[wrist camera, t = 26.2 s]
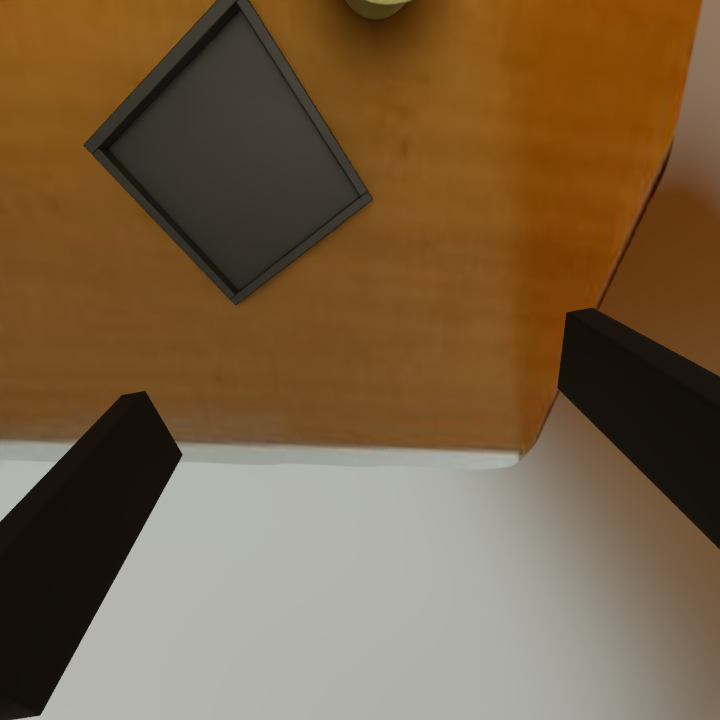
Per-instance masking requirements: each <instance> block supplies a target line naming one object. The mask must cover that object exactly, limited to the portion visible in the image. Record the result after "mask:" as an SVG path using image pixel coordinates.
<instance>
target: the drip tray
mask: <svg viewBox="0 0 720 720" xmlns="http://www.w3.org/2000/svg"><path fill="white" fill-rule="evenodd" d="M84 147H85V148H86V149H87V150H88V151H89V152H90V153H91V154H93V156H94V157H95V158H96V159H97V160H98V161H99V162H100V163H101V164H102V166H103V167H104V168H105V169H106V170H107V171H108V172H109V173H110V174H111V175H112V176H113V177H114V178H115V179H116V180H117V181H118V182H119V183H120V184H121V186H122V187H123V188H124V189H125V190H126V191H127V192H128V193H129V194H130V195H131V196H132V197H133V198H134V199H135V200H136V201H137V202H138V203H139V204H140V206H141V207H142V208H143V209H144V210H145V211H146V212H147V213H148V214H149V215H150V216H151V217H152V218H153V219H154V220H155V221H156V222H157V223H158V224H159V226H160V227H161V228H162V229H163V230H164V231H165V232H166V233H167V234H168V235H169V236H170V237H171V238H172V239H173V240H174V241H175V242H176V243H177V244H178V246H179V247H180V248H181V249H182V250H183V251H184V252H185V253H186V254H187V255H188V256H189V257H190V258H191V259H192V260H193V261H194V262H195V263H196V264H197V266H198V267H199V268H200V269H201V270H202V271H203V272H204V273H205V274H206V275H207V276H208V277H209V278H210V279H211V280H212V281H213V282H214V283H215V285H216V286H217V287H218V288H219V289H220V290H221V291H222V292H223V293H224V294H225V295H226V296H227V297H228V298H229V299H230V300H231V301H232V302H233V303H234V304H235V305H237V304H238V303H240V302H241V301H242V300H244V299H245V298H246V297H247V296H249V295H250V294H251V293H253V292H254V291H255V290H256V289H258V288H259V287H260V286H262V285H263V284H264V283H265V282H267V281H268V280H269V279H271V278H272V277H273V276H275V275H276V274H277V273H278V272H280V271H281V270H282V269H284V268H285V267H286V266H287V265H289V264H290V263H291V262H293V261H294V260H295V259H296V258H298V257H299V256H300V255H302V254H303V253H304V252H306V251H307V250H308V249H309V248H311V247H312V246H313V245H315V244H316V243H317V242H318V241H320V240H321V239H322V238H324V237H325V236H326V235H327V234H329V233H330V232H331V231H333V230H334V229H335V228H337V227H338V226H339V225H340V224H342V223H343V222H344V221H346V220H347V219H348V218H349V217H351V216H352V215H353V214H355V213H356V212H357V211H358V210H360V209H361V208H362V207H364V206H365V205H366V204H368V203H369V202H370V201H371V200H372V199H373V198H372V197H371V195H370V193H369V192H368V190H367V189H366V187H365V185H364V184H363V182H362V181H361V179H360V177H359V176H358V174H357V173H356V171H355V169H354V168H353V166H352V164H351V163H350V161H349V160H348V158H347V156H346V155H345V153H344V152H343V150H342V148H341V147H340V145H339V144H338V142H337V140H336V139H335V137H334V136H333V134H332V132H331V131H330V129H329V128H328V126H327V124H326V123H325V121H324V120H323V118H322V116H321V115H320V113H319V112H318V110H317V108H316V107H315V105H314V104H313V102H312V100H311V99H310V97H309V96H308V94H307V92H306V91H305V89H304V88H303V86H302V84H301V83H300V81H299V80H298V78H297V76H296V75H295V73H294V72H293V70H292V68H291V67H290V65H289V64H288V62H287V60H286V59H285V57H284V56H283V54H282V52H281V51H280V49H279V48H278V46H277V44H276V43H275V41H274V40H273V38H272V36H271V35H270V33H269V32H268V30H267V28H266V27H265V25H264V24H263V22H262V20H261V19H260V17H259V16H258V14H257V12H256V11H255V9H254V8H253V6H252V4H251V3H250V1H249V0H217V1H216V2H215V3H214V4H213V5H212V6H211V7H210V8H209V10H208V11H207V12H206V13H205V14H204V15H203V16H202V17H201V18H200V19H199V20H198V21H197V22H196V24H195V25H194V26H193V27H192V28H191V29H190V30H189V31H188V32H187V33H186V34H185V35H184V37H183V38H182V39H181V40H180V41H179V42H178V43H177V44H176V45H175V46H174V47H173V48H172V50H171V51H170V52H169V53H168V54H167V55H166V56H165V57H164V58H163V59H162V60H161V61H160V63H159V64H158V65H157V66H156V67H155V68H154V69H153V70H152V71H151V72H150V73H149V74H148V76H147V77H146V78H145V79H144V80H143V81H142V82H141V83H140V84H139V85H138V86H137V87H136V88H135V90H134V91H133V92H132V93H131V94H130V95H129V96H128V97H127V98H126V99H125V100H124V101H123V103H122V104H121V105H120V106H119V107H118V108H117V109H116V110H115V111H114V112H113V113H112V114H111V116H110V117H109V118H108V119H107V120H106V121H105V122H104V123H103V124H102V125H101V126H100V127H99V129H98V130H97V131H96V132H95V133H94V134H93V135H92V136H91V137H90V138H89V139H88V140H87V142H86V143H85V144H84Z"/></svg>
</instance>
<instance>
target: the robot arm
mask: <svg viewBox="0 0 720 720" xmlns="http://www.w3.org/2000/svg"><path fill="white" fill-rule="evenodd" d="M557 388H558V389H559V390H560V391H561V392H562V393H563V394H564V395H565V396H566V397H567V398H568V399H569V400H570V401H571V402H572V403H573V404H574V405H575V406H576V407H577V408H578V409H579V410H580V411H581V412H582V413H583V414H584V415H585V416H586V417H587V418H588V419H589V420H590V421H591V422H592V423H593V424H594V425H595V426H596V427H597V428H598V429H599V430H600V431H601V432H602V433H603V434H604V435H605V436H606V437H607V438H608V439H610V441H611V442H612V443H613V444H614V445H615V446H616V447H617V448H618V449H619V450H620V451H621V452H622V453H623V454H624V455H625V456H626V457H627V458H628V459H629V460H630V461H631V462H632V463H633V464H634V465H636V466H637V468H638V469H639V470H640V471H641V472H643V474H644V475H645V476H646V477H647V478H649V479H650V481H651V482H652V483H653V484H655V486H656V487H658V488H659V489H660V490H661V491H662V492H663V493H664V494H665V495H666V496H667V497H668V498H669V499H670V500H671V501H672V502H673V503H674V504H675V505H676V506H677V507H678V508H679V509H680V510H681V511H682V512H683V513H684V514H685V515H686V516H687V517H688V518H689V519H690V520H691V521H692V522H693V523H694V524H695V525H696V526H697V527H698V528H699V529H700V530H701V531H702V532H703V533H704V534H705V535H706V536H707V537H708V538H709V539H710V540H711V541H712V542H713V543H714V544H715V545H716V546H717V547H718V548H719V549H720V377H719V376H718V375H716V374H714V373H712V372H710V371H708V370H707V369H705V368H703V367H701V366H699V365H697V364H695V363H694V362H692V361H690V360H688V359H686V358H684V357H683V356H681V355H678V354H677V353H675V352H673V351H671V350H670V349H668V348H666V347H664V346H662V345H660V344H658V343H657V342H655V341H653V340H651V339H649V338H647V337H646V336H644V335H642V334H640V333H638V332H636V331H635V330H633V329H631V328H629V327H627V326H625V325H623V324H621V323H620V322H618V321H616V320H614V319H612V318H611V317H608V316H606V315H605V314H603V313H601V312H599V311H598V310H596V309H594V308H588V309H583V310H577V311H572V312H567V313H566V321H565V329H564V338H563V346H562V354H561V362H560V371H559V379H558V387H557ZM182 455H183V454H182V453H181V451H180V449H179V448H178V446H177V444H176V443H175V441H174V439H173V437H172V436H171V434H170V432H169V431H168V429H167V427H166V425H165V424H164V422H163V420H162V419H161V417H160V415H159V414H158V412H157V410H156V408H155V407H154V405H153V403H152V402H151V400H150V398H149V396H148V395H147V393H146V391H142V392H137V393H131V394H126V395H122V396H121V397H120V398H119V399H118V400H117V401H116V402H115V403H114V404H113V405H112V406H111V407H110V408H109V409H108V410H107V411H106V412H105V413H104V414H103V415H102V416H101V417H100V419H99V420H98V421H97V422H96V423H95V424H94V425H93V426H92V427H91V428H90V429H89V430H88V431H87V432H86V433H85V434H84V435H83V436H82V437H81V438H80V439H79V440H78V441H77V442H76V444H75V445H74V446H73V447H72V448H71V449H70V450H69V451H68V452H67V453H66V454H65V455H64V456H63V457H62V458H61V459H60V460H59V461H58V462H57V463H56V464H55V465H54V467H52V469H51V470H50V471H49V472H48V473H47V474H46V475H45V476H44V477H43V478H42V479H41V480H40V481H39V482H38V483H37V484H36V485H35V486H34V487H33V488H32V489H31V490H30V492H29V493H28V494H27V495H26V496H25V497H24V498H23V499H22V500H21V501H20V502H19V503H18V504H17V505H16V506H15V507H14V508H13V509H12V510H11V511H10V512H9V513H8V514H7V516H5V518H4V519H3V520H2V521H1V522H0V720H13V719H20V718H27V717H32V716H40V715H41V713H42V711H43V710H44V708H45V706H46V704H47V702H48V700H49V699H50V697H51V695H52V693H53V691H54V689H55V687H56V686H57V684H58V682H59V680H60V678H61V676H62V675H63V673H64V671H65V669H66V667H67V665H68V664H69V662H70V660H71V658H72V656H73V654H74V653H75V651H76V649H77V647H78V646H79V644H80V642H81V640H82V638H83V636H84V635H85V633H86V631H87V629H88V627H89V625H90V624H91V621H92V620H93V618H94V616H95V614H96V613H97V611H98V609H99V607H100V605H101V603H102V602H103V600H104V598H105V596H106V594H107V592H108V591H109V589H110V587H111V585H112V583H113V581H114V580H115V578H116V576H117V574H118V572H119V570H120V569H121V567H122V565H123V563H124V561H125V559H126V557H127V556H128V554H129V552H130V550H131V548H132V546H133V545H134V543H135V541H136V539H137V537H138V536H139V534H140V532H141V530H142V528H143V526H144V524H145V523H146V521H147V519H148V517H149V515H150V514H151V512H152V510H153V508H154V506H155V504H156V503H157V501H158V499H159V497H160V495H161V493H162V492H163V489H164V488H165V486H166V484H167V482H168V481H169V479H170V477H171V475H172V473H173V471H174V470H175V468H176V466H177V464H178V462H179V461H180V459H181V457H182Z"/></svg>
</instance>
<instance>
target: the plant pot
mask: <svg viewBox="0 0 720 720" xmlns="http://www.w3.org/2000/svg"><path fill="white" fill-rule="evenodd" d="M345 1H346V3H347V4H348V5H349V7H350V8H351V9H352V10H353V11H355V12H356V13H357V14H359V15H361V16H363V17H365V18H368V19H375V20H377V19H384V18H387V17H389V16H391V15H393V14H394V13H396V12H397V11H398V10H399V9H401V8H402V7H403V6H404V4H405V3H407V2H411V1H413V0H345Z"/></svg>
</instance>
